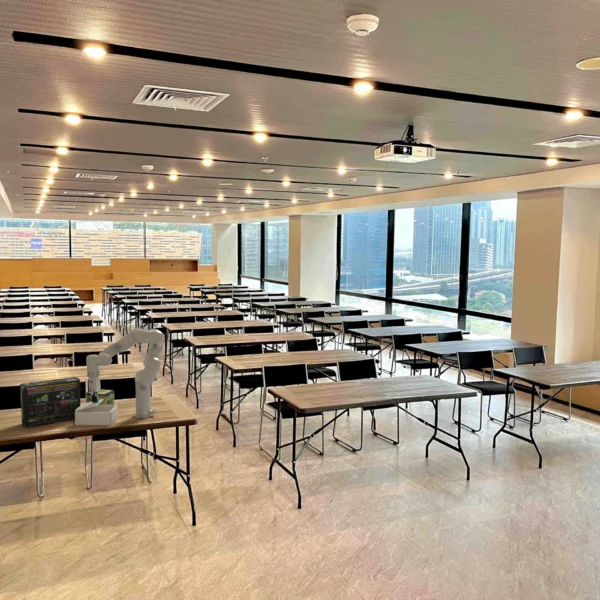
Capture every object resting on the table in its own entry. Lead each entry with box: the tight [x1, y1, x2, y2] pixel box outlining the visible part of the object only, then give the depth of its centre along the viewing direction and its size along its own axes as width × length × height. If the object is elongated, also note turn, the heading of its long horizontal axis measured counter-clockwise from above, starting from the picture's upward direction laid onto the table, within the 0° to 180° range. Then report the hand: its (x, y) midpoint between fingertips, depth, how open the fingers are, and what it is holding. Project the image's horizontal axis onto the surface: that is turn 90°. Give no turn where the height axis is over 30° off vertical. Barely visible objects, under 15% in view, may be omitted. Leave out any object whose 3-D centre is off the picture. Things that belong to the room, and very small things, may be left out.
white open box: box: [74, 404, 119, 427], centre depth 371 cm, size 23×16×9 cm
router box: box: [19, 376, 82, 429], centre depth 369 cm, size 36×11×27 cm, turn 126°
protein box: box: [85, 388, 115, 405], centre depth 388 cm, size 10×16×16 cm
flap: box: [75, 394, 104, 411], centre depth 370 cm, size 14×15×6 cm
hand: (95, 401), depth 370 cm, fingers closed
